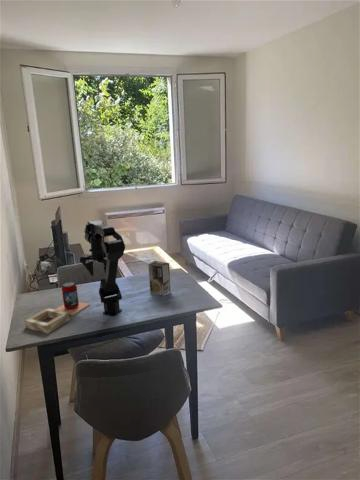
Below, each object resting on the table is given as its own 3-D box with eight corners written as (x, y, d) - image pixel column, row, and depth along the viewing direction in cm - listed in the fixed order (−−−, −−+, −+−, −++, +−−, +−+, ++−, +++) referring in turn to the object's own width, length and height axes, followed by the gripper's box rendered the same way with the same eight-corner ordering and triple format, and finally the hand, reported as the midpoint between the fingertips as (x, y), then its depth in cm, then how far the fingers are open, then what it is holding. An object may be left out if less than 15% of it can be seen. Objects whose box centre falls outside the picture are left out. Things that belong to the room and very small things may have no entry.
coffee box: (171, 292, 187) (169, 262, 182) (164, 296, 181) (162, 266, 177) (157, 289, 191) (155, 260, 187) (149, 293, 186) (147, 263, 182)
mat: (89, 305, 175) (89, 304, 175) (72, 315, 164) (72, 314, 164) (71, 301, 180) (70, 300, 180) (53, 311, 170) (53, 310, 169)
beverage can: (68, 311, 167) (65, 287, 164) (61, 307, 172) (58, 284, 169) (81, 306, 172) (78, 283, 169) (74, 302, 177) (71, 280, 173)
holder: (69, 319, 161) (68, 312, 160) (47, 333, 150) (46, 326, 149) (48, 314, 166) (47, 307, 165) (25, 327, 155) (24, 320, 154)
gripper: (122, 243, 174) (125, 273, 178) (92, 240, 182) (95, 269, 186) (108, 250, 165) (111, 281, 169) (77, 246, 173) (80, 276, 177)
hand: (99, 276), depth 175 cm, fingers open, 9 cm apart
